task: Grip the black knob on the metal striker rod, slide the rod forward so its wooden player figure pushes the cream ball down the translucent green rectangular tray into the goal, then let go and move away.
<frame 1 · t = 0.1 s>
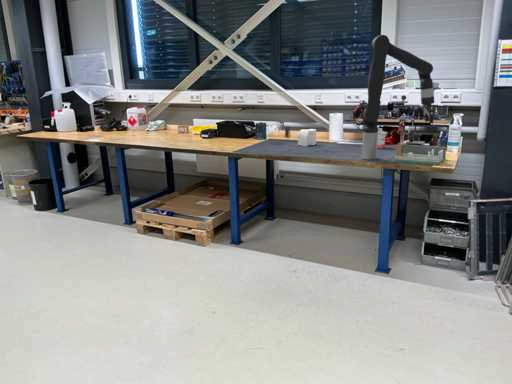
hand: (429, 122, 256), 22 cm above the table, tool pointing down, fingers open, 8 cm apart
ball: (410, 155, 253), point 3 cm above the table, touching translucent green rectangular tray
ink cartridge box: (377, 147, 302), on the table
light grey block: (307, 145, 325), on the table
striker: (410, 143, 256), point 10 cm above the table, slide at 0.0 cm
translucent green rectangular tray: (419, 160, 254), on the table
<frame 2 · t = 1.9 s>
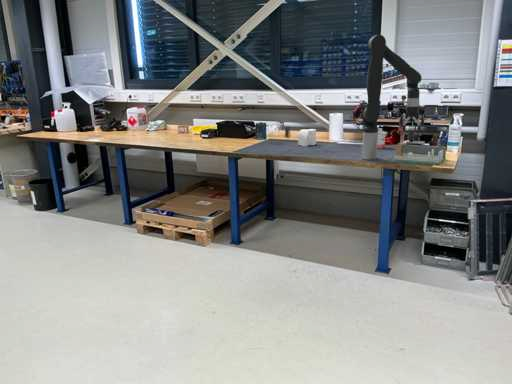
hand: (411, 131, 260), 17 cm above the table, tool pointing down, fingers open, 8 cm apart
nothing on the table moved.
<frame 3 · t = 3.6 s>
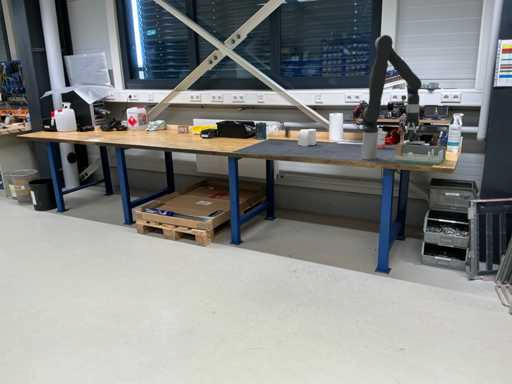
hand: (410, 138, 261), 12 cm above the table, tool pointing down, fingers closed on striker, 3 cm apart
striker: (410, 143, 256), point 10 cm above the table, slide at 0.0 cm, touching gripper
everything else where it was.
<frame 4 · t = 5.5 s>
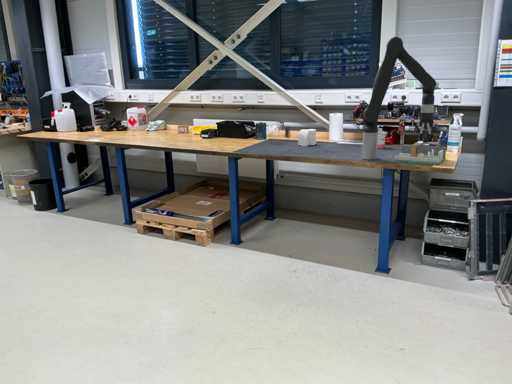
hand: (425, 139, 256), 12 cm above the table, tool pointing down, fingers closed on striker, 3 cm apart
ball: (420, 156, 249), point 3 cm above the table, tilted 179°, touching translucent green rectangular tray
striker: (425, 144, 251), point 10 cm above the table, slide at 8.7 cm, touching gripper
everything else where it was.
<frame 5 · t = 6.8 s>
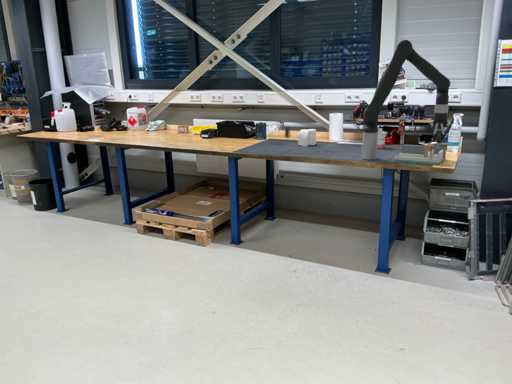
hand: (438, 140, 251), 12 cm above the table, tool pointing down, fingers closed on striker, 3 cm apart
ball: (435, 157, 245), point 3 cm above the table, tilted 61°, touching translucent green rectangular tray
striker: (439, 145, 247), point 10 cm above the table, slide at 16.6 cm, touching gripper
everything else where it was.
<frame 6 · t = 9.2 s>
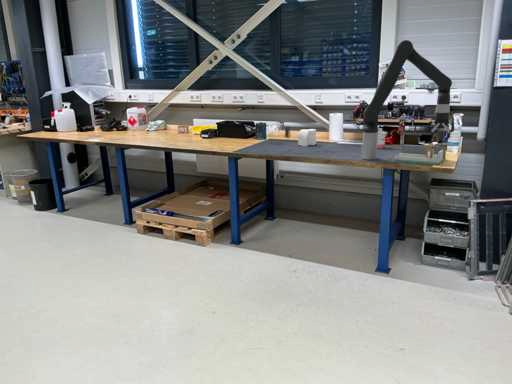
hand: (440, 138, 251), 13 cm above the table, tool pointing down, fingers open, 8 cm apart
ball: (435, 157, 245), point 3 cm above the table, tilted 53°, touching translucent green rectangular tray
striker: (440, 145, 246), point 10 cm above the table, slide at 17.4 cm
everything else where it was.
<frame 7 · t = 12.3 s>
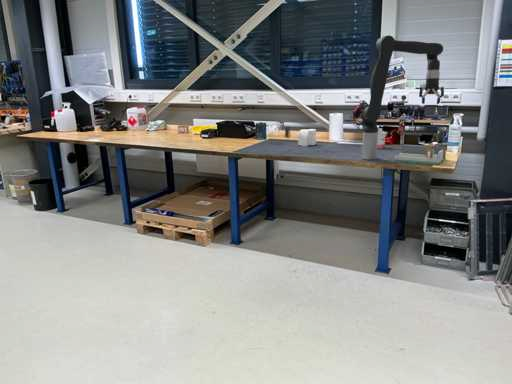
hand: (430, 104, 259), 33 cm above the table, tool pointing down, fingers open, 8 cm apart
nothing on the table moved.
at the end: ball 0.0 cm from the target spot on the translucent green rectangular tray, point 3.5 cm above the translucent green rectangular tray's base; striker slide at 17.4 cm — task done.
